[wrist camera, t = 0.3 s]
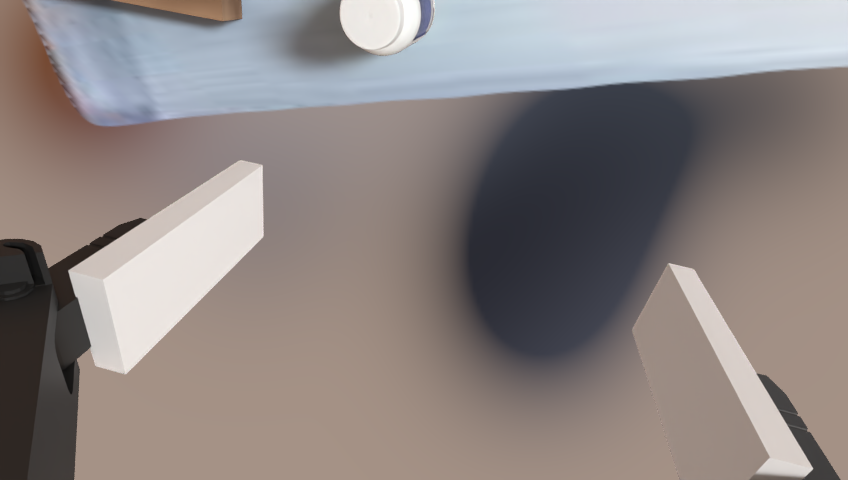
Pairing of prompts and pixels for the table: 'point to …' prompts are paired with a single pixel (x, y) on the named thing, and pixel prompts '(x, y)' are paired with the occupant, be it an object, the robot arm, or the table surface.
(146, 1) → the board
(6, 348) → the robot arm
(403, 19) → the pill bottle
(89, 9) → the table surface
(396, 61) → the table surface
